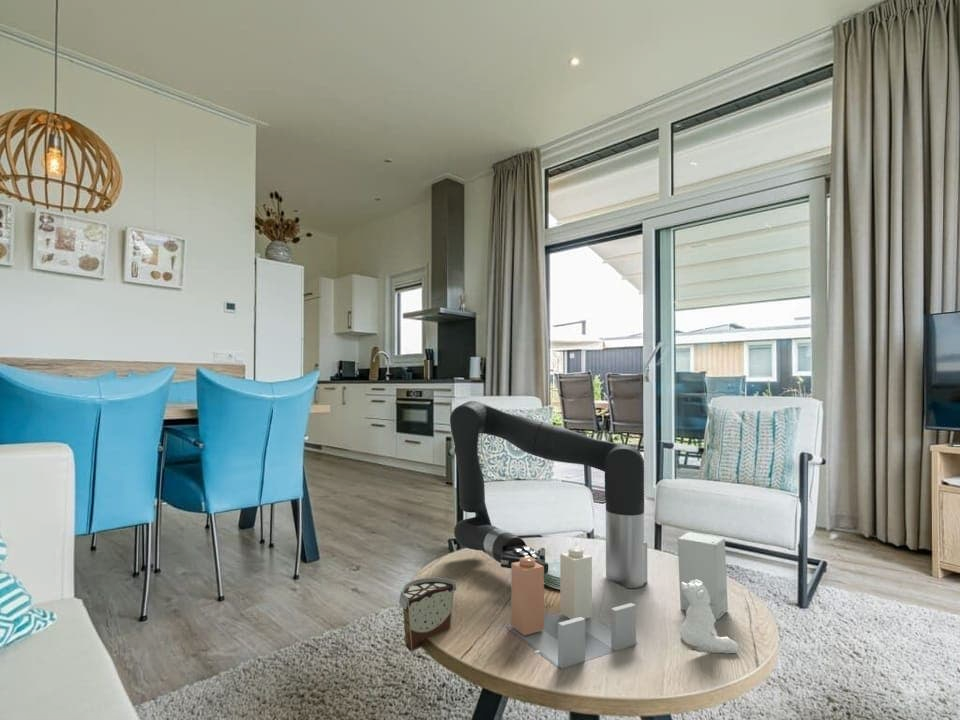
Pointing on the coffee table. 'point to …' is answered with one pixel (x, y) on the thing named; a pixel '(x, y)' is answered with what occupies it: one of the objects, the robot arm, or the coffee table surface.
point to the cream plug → (576, 584)
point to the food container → (426, 608)
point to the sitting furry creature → (702, 622)
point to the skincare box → (704, 569)
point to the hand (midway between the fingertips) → (545, 569)
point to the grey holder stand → (582, 636)
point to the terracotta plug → (527, 596)
